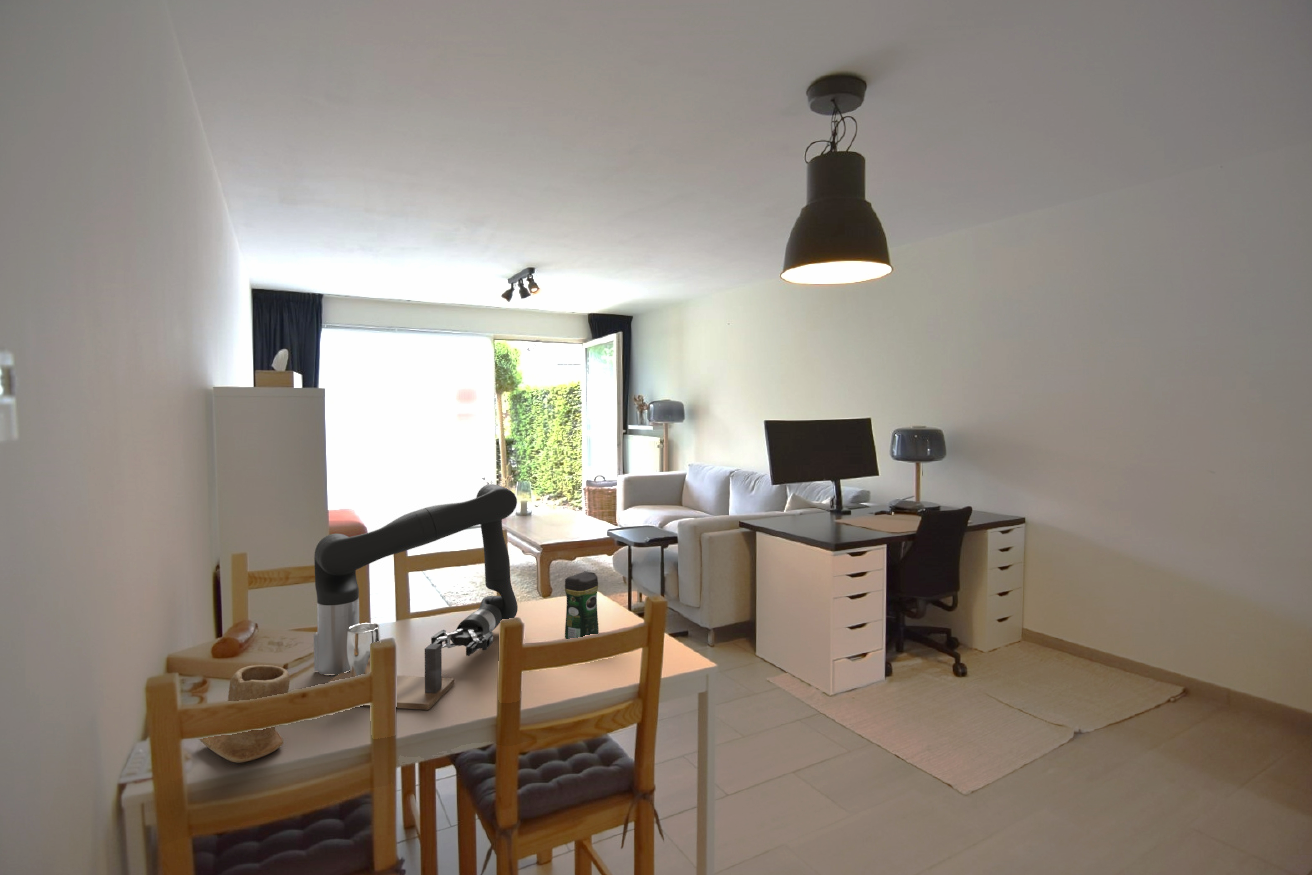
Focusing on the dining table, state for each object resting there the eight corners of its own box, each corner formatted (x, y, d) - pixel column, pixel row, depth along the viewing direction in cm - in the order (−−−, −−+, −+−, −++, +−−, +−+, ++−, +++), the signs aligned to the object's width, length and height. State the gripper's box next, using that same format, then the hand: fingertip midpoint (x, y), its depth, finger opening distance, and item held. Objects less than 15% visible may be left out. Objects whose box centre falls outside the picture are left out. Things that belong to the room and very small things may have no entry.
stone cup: (302, 745, 120) (301, 668, 120) (232, 774, 110) (230, 691, 110) (265, 722, 129) (263, 650, 128) (197, 748, 119) (195, 670, 118)
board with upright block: (305, 702, 137) (305, 651, 137) (341, 677, 150) (340, 631, 149) (428, 709, 134) (428, 658, 134) (454, 683, 147) (453, 636, 147)
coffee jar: (581, 630, 184) (581, 567, 184) (602, 635, 180) (603, 571, 179) (559, 640, 176) (559, 575, 175) (581, 646, 172) (581, 579, 171)
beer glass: (387, 688, 145) (387, 624, 144) (364, 701, 138) (363, 634, 138) (364, 684, 147) (363, 620, 147) (340, 696, 141) (339, 630, 140)
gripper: (450, 612, 166) (421, 634, 150) (502, 614, 165) (478, 636, 149) (450, 640, 167) (421, 664, 151) (502, 642, 165) (479, 667, 149)
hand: (450, 650), depth 150 cm, fingers open, 8 cm apart
